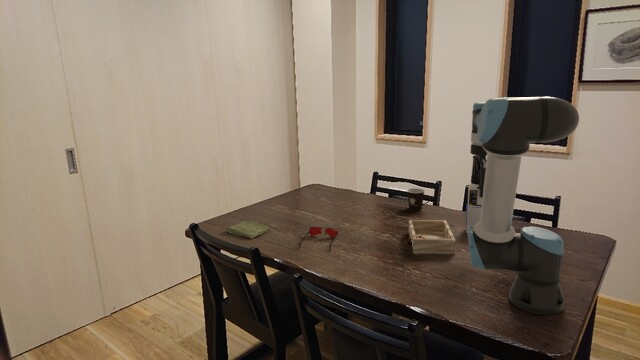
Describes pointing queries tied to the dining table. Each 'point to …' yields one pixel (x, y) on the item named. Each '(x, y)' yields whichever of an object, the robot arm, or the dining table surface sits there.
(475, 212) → the ink cartridge box
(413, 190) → the coffee mug
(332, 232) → the glasses
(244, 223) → the washcloth
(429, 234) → the birch box
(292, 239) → the dining table surface
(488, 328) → the dining table surface
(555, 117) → the robot arm
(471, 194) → the medicine bottle
